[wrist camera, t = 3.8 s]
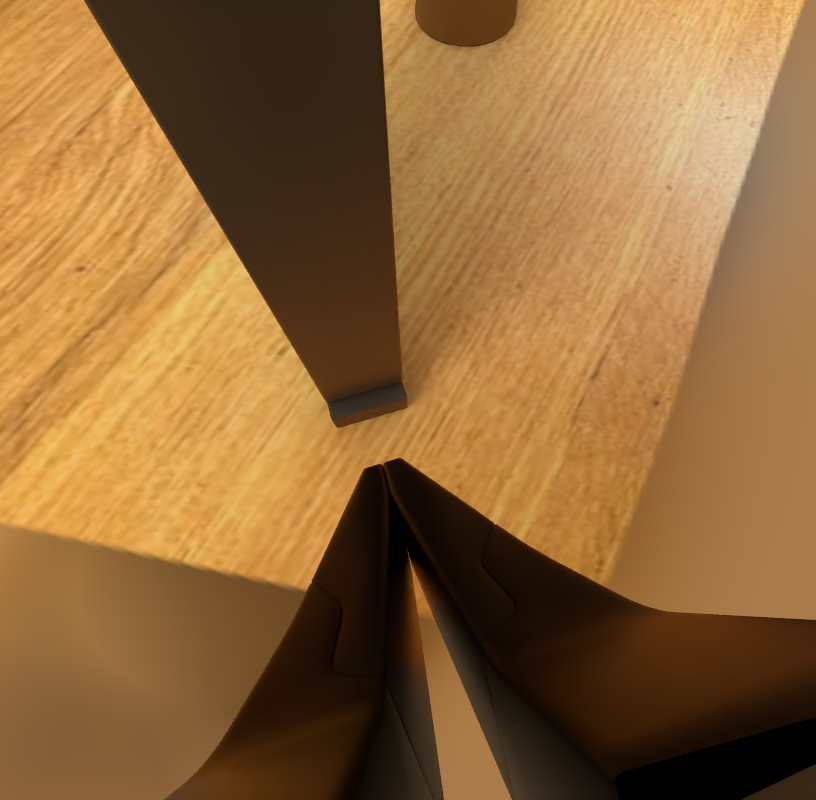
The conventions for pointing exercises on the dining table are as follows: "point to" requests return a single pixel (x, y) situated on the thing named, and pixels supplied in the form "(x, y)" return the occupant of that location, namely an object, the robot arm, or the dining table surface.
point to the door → (284, 159)
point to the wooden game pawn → (466, 20)
